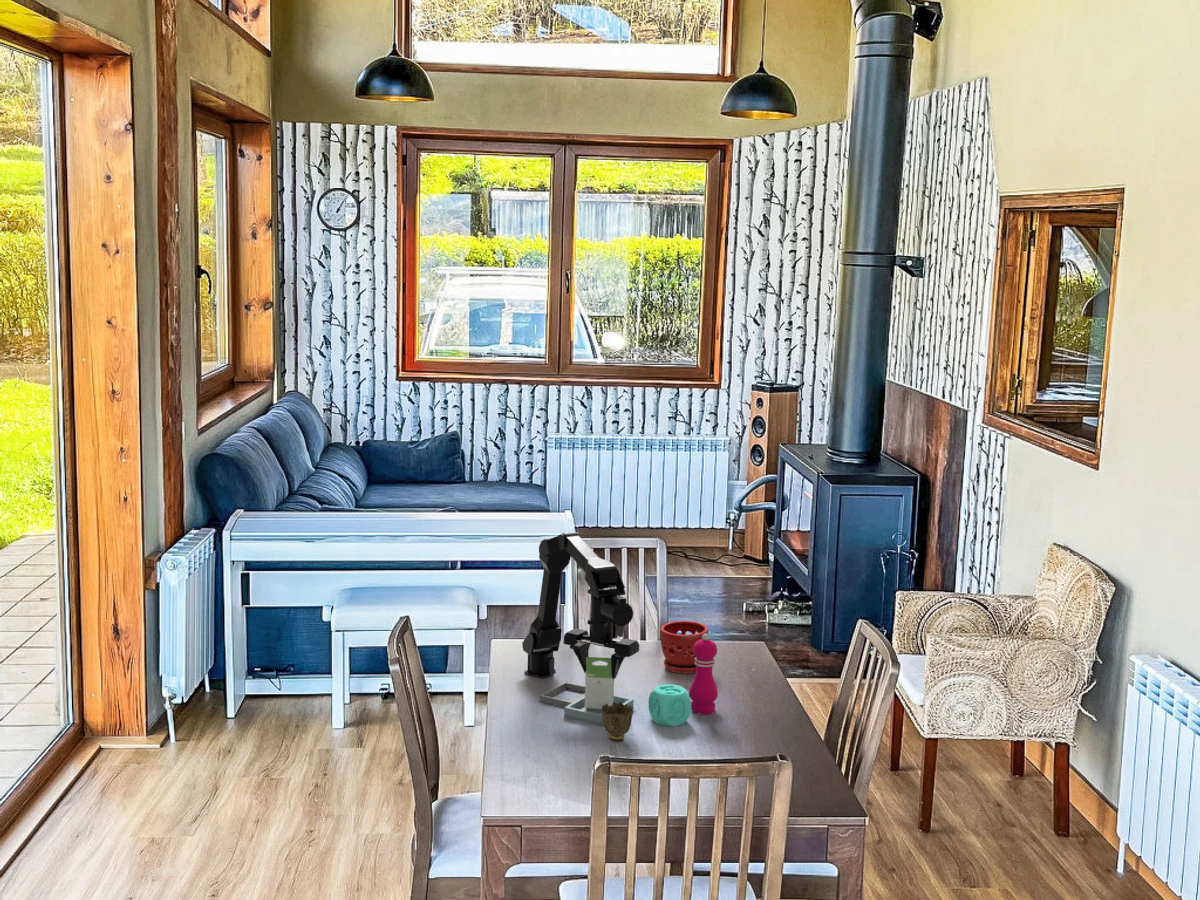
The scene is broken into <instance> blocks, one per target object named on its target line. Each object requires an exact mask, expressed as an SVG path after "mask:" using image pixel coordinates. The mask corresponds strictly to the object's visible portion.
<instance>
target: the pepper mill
mask: <svg viewBox="0 0 1200 900" xmlns="http://www.w3.org/2000/svg"><path fill="white" fill-rule="evenodd" d="M693 653H694V655H695V656H696V658H695V664H696V672H695V675H694V679H693V680H692V682H691V684H690V687H689V691H688V694H689V696H690V700H691V710H692V711H693V712H692V711H691V712H692V713H694V712H695V714H697V713H700V714H699V715H712V714H713V713H715V711H716V703H715V702H716V701H717V698H718V695H719V694H718V687H717V684H716V682H715V679H714V676H713V666H715V657H716V656H717V654H718V647H717V644H716V643H715V641H713V640H711V639H710V636H709V633H708V634H703V636H702V639H701V640H698V641H697V642H696V643H695V644H694V647H693Z"/></svg>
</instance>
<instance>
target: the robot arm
mask: <svg viewBox="0 0 1200 900" xmlns="http://www.w3.org/2000/svg"><path fill="white" fill-rule="evenodd" d="M538 553H539V556H538V558H539V560H540V562H541V563H540V564H541V565H542V566H543V574H542V581H541V587H540V596H539V597H540V598H539V604H538V613H537V616H536V617H535V618H534V620H533V621H532V623H531V624H530V626H529V632H528V634H527V635H526V636H525V638H524V640H523V641H522V643H521V644H522V651H523V652H524V653H526V654H527V670H525V671H524V675H529V676H533V677H539V678H542V677H545V678H547V677H548V676H550V675H552V674H554V673H556V672H557V670H556V669H555V657H554V652H559V648H560V643H561V642H562V639H563V644H564V645H566V646H569V649H571V650H573V653H574V654H575V656H576V657H577V659H578V661H579V664H580V667H581V668H582V670H583V673H584V674H586V668H587V665H586V664H587V662H586V661H587V659H586V658H587V657H589V649H590V647H591V645H593V646H600V647H604V648H608V649H612V650H614V653H612V654H610V658H611V667H612V679H614V680H615V679H616V678H617V677H618V673H619V671H620V669H621V666H622V664H623V661H624V660H625V658H630V657H632V656H634V655H636V654H637V653H639V652H640V643H639V642H638V640H635V639H631V638H623V637H624V631H625V627H626V626H627V625H628V624H630V622H632V620H633V617H634V611H633V608H632V606H631V604H629V603H627V598H626V597H625V595H626V590H625V588H626V586H625V584H624V582H623V579H622V577H621V576H622V575H621V573H620V570H619V569H618V567H617V566H616V565H615V564H614V563H612V562H611V561H609V560H607V559H604V558H600V557H599V556H598V555H597V554H596V553H595V552H594V551H593V549H592V548H591V547H590V546H589V545H588V544H587V543H586V542H585V541H584V539H582V536H581V534H580V533H579V532H576V531H570V532H562V533H561V534H559V535H557V536H556V535H555V536H553V537H551V538H545V539H542V540H541V541H540V543H539V546H538ZM571 558H572V559H573V560H574V561H575V562H576V564H577V565H578V566H579V567H580V568H581V569H582V570H583V572H584V580H585V582H586V583H587V585H588V587H589V589H587V594H589V595H590V614H589V616H590V617H589V619H588V620H587V625H589V632H588V631H587V630H586V629H581V628H576V627H574V628H573V629H571V630H569V631H566V633H564V635H563V638H562V632H563V630H562V628H561V627H560V625H559V624H558V620H557V613H558V605H559V598H560V592H561V591H560V590H561V586H562V585H561V583H562V576H563V571H564V570H565V569H566V568H567V566H568V565H569V564H570V561H571ZM618 637H619V638H622V639H621V640H619V641H617V640H614V639H617V638H618ZM555 671H556V672H555ZM551 673H552V674H551ZM546 676H547V677H546Z"/></svg>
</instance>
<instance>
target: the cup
mask: <svg viewBox="0 0 1200 900" xmlns="http://www.w3.org/2000/svg"><path fill="white" fill-rule="evenodd" d="M612 704H613V705H612V706H609V707H608V704H605V706H604V705H602V718H603V725H604V726H603V729H604V730H605V732H606V733H607V734H608V738H609V740H610V742H611V741H612V742H617V743H618V742H619V743H620V742H622V741H624V739H625V735H626V734H627V733H629V731H630V729H631V725H632V719H633V713H634V707H633V708H632V707H631V705H630V706H629V707H628V705H627V704H625V706H624V705H623V703H622V702H619V703H617V704H616V703H615V702H613V703H612Z"/></svg>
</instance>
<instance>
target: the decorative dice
mask: <svg viewBox="0 0 1200 900" xmlns="http://www.w3.org/2000/svg"><path fill="white" fill-rule="evenodd" d="M691 702H692V699H691V698H690V696H689V691H687V689H686V688H685V687H684V686H682V685H677V684H670V683H669V684H661V685H657V686H656V687H654V688H653V689H652V691H651V692H650V693H649V696H648V711H649V714H650V718H651V719H652V721H653V722H654V723H655V722H656V723H655V724H657V725H659V724H660V726H663V725H665V726H664V727H677V726H676V725H679V726H681V724H682V725H684V724H685V723H687V721H688V719H689V718H690V717H691V713H692V711H691ZM674 725H675V726H674Z"/></svg>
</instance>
